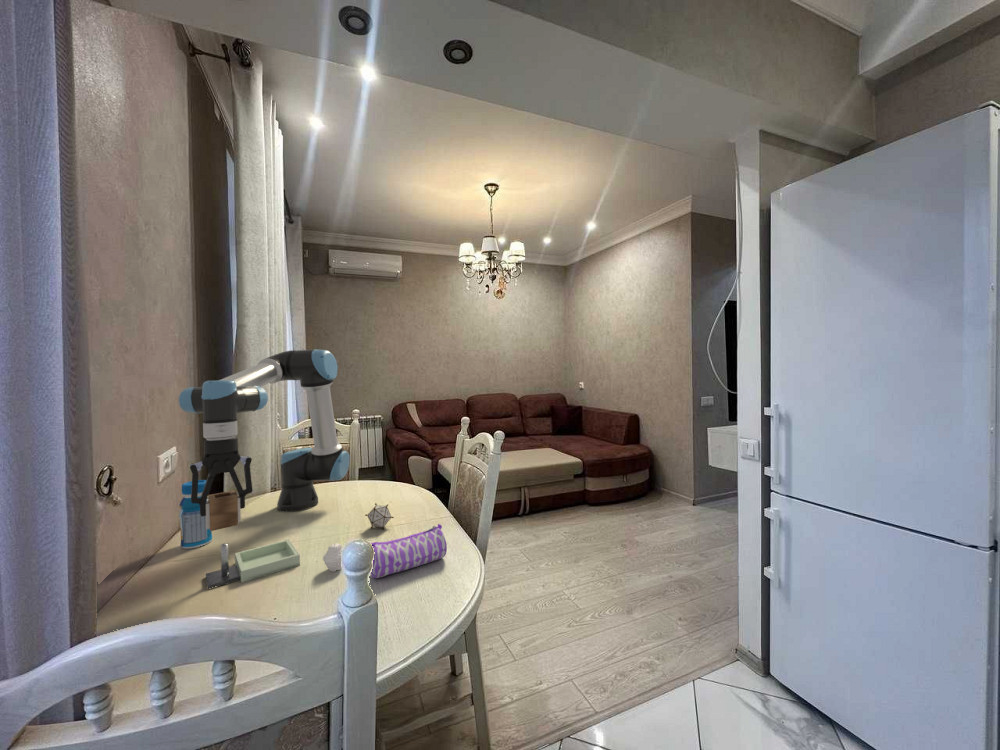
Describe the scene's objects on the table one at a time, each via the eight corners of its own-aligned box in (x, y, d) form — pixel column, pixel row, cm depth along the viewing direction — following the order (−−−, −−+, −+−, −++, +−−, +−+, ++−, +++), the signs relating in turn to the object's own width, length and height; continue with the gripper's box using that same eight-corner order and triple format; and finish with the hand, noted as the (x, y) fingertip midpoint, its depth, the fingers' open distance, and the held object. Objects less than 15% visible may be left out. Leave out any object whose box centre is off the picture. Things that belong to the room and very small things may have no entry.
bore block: (235, 518, 111) (234, 490, 110) (238, 525, 106) (237, 495, 106) (208, 524, 107) (208, 495, 107) (210, 531, 102) (209, 500, 102)
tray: (289, 548, 123) (288, 539, 123) (300, 565, 113) (299, 554, 113) (235, 563, 114) (234, 553, 114) (241, 582, 104) (241, 571, 104)
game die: (378, 540, 137) (366, 524, 131) (369, 525, 143) (357, 509, 137) (401, 523, 141) (390, 506, 135) (390, 509, 146) (380, 492, 141)
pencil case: (436, 549, 121) (435, 518, 121) (452, 560, 114) (451, 527, 113) (363, 573, 107) (362, 539, 107) (376, 588, 100) (375, 550, 100)
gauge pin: (241, 567, 112) (240, 535, 112) (244, 578, 106) (243, 544, 106) (205, 577, 107) (204, 544, 107) (207, 589, 101) (206, 554, 101)
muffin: (349, 562, 114) (348, 538, 113) (344, 573, 108) (344, 547, 107) (326, 564, 112) (325, 540, 112) (320, 575, 106) (319, 549, 106)
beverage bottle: (191, 551, 123) (189, 487, 123) (173, 547, 126) (171, 485, 126) (218, 540, 131) (217, 480, 131) (201, 537, 134) (199, 478, 134)
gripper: (175, 444, 97) (177, 538, 97) (264, 435, 109) (266, 518, 109) (175, 440, 103) (177, 529, 103) (259, 432, 115) (262, 511, 115)
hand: (223, 523), depth 106 cm, fingers closed on bore block, 6 cm apart
